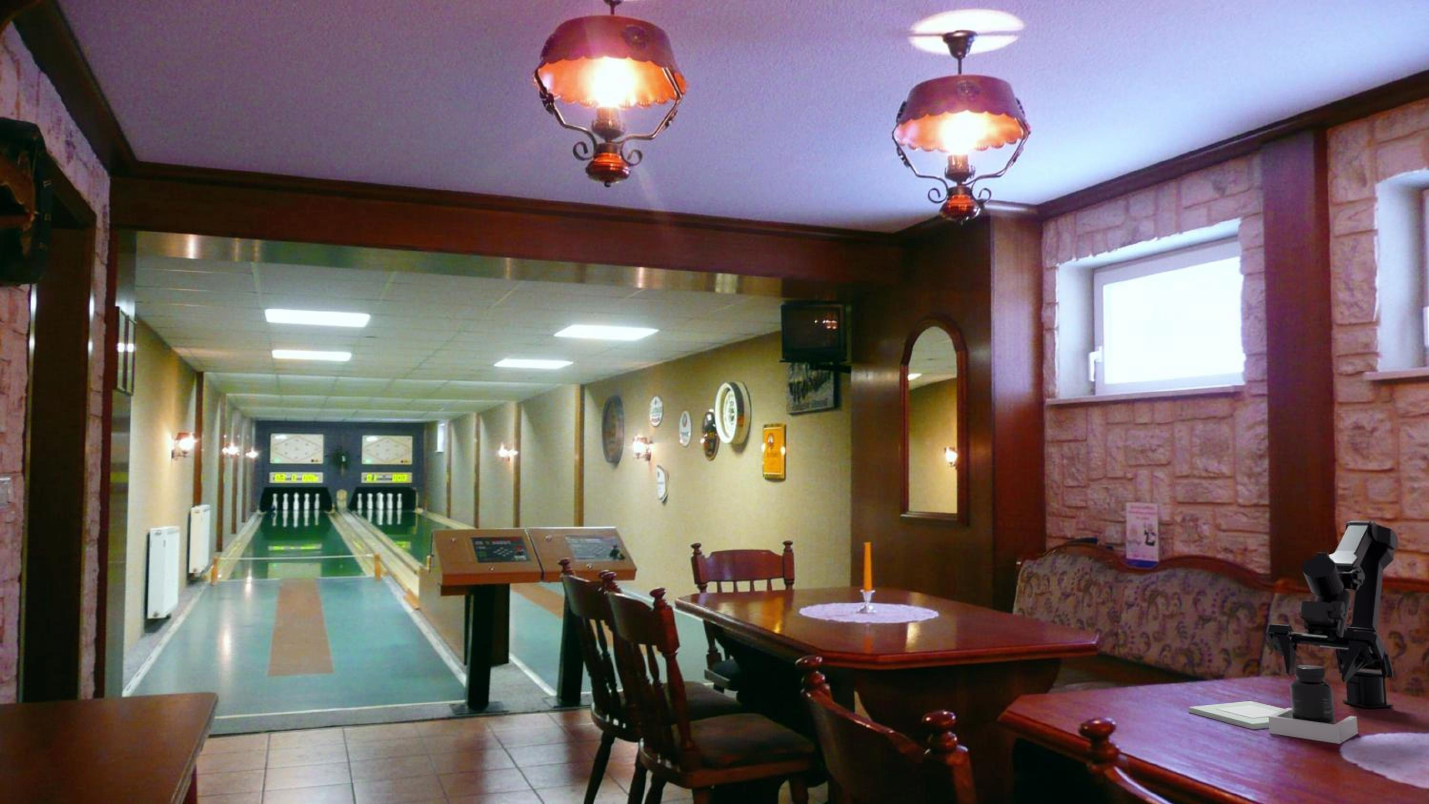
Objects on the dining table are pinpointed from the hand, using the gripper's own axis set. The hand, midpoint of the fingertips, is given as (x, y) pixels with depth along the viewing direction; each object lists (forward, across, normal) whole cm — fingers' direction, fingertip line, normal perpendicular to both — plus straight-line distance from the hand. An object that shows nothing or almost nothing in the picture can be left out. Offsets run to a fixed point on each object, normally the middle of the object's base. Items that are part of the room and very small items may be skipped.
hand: (1315, 677), depth 190 cm
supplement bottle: (+9, 0, +5) cm, 10 cm away
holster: (+8, 0, +5) cm, 10 cm away
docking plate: (+4, -13, +9) cm, 16 cm away
